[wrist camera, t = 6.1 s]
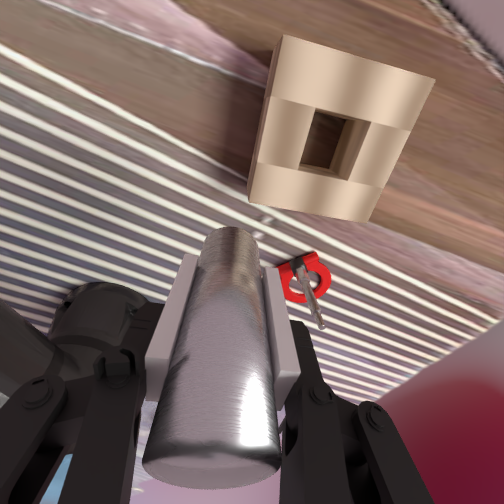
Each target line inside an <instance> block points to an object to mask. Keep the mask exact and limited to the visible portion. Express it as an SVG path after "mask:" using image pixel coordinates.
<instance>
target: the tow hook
mask: <svg viewBox="0 0 504 504" xmlns="http://www.w3.org/2000/svg"><path fill="white" fill-rule="evenodd" d="M318 260H319V257H318V255H317V253H316V252H313V253H311V254H308V255H306V256H303V257H299V258H296V259H294V260H291V261H289V262H288V263H285V264H283V265H280V266H277V267H276V268H278V271H279V275H280V276H281V277H280V280H281V284H282V289H283V293H284V297H285V298H286V299H287V300H290V301H292V302H297V303H305V302H307V303H308V306H309V308H310V311H311V314H312V316H314V317H315V319H316V322H317V325H318V327H319V329H320V330H323V329H325V328H326V326H325V324H324V321H323V319H322V316H321V313H322V312H321V309H320V307H319V305H318V302H317V300H316V299H317V298H319V297H320V296H322V295H323V294H324V293H325V292H326V291H327V290H328V288H329V287H330V284H331V275H330V272H329V270H328V269H327V267H326V266H325V265H323V264H322V263H320V262H319V261H318ZM308 270H309V271H315V272H317V273H318V274H319V275H320V276H321V281H320V284H319V286H318V287H317V288H316V289H315V290H312V288H311V286H310V279H309V276H308V274H307V273H308ZM293 274H294V275H293ZM293 276H294V277H296V278H297V281H298V284H299V285H300V286H301V287H302V290H303V292H304V294H298V293H295V292H293V291H291V290H290V288H289V282H290V280H291V278H292V277H293Z"/></svg>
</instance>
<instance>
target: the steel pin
mask: <svg viewBox="0 0 504 504" xmlns="http://www.w3.org/2000/svg"><path fill="white" fill-rule="evenodd" d="M142 465H143V468H144V470H145V471H146V472H147V473H148V474H149V475H151V476H152V477H154V478H156V479H158V480H160V481H162V482H165V483H168V484H171V485H175V486H180V487H186V488H193V489H228V488H236V487H241V486H246V485H250V484H253V483H257V482H259V481H262V480H264V479H266V478H268V477H270V476H271V475H273V474H274V473H276V472H277V471H278V469H279V468H280V466H281V465H282V455H281V446H280V437H279V428H278V419H277V411H276V402H275V393H274V384H273V375H272V366H271V357H270V348H269V340H268V331H267V322H266V313H265V304H264V295H263V286H262V278H261V269H260V260H259V251H258V245H257V243H256V241H255V239H254V238H253V236H252V235H251V234H250V233H248V232H247V231H245V230H243V229H240V228H237V227H223V228H219V229H217V230H215V231H213V232H212V233H210V234H209V235H208V236H207V238H206V239H205V241H204V244H203V247H202V250H201V254H200V257H199V261H198V265H197V270H196V273H195V277H194V280H193V284H192V288H191V291H190V295H189V298H188V302H187V305H186V309H185V313H184V316H183V320H182V323H181V327H180V330H179V334H178V338H177V341H176V345H175V348H174V352H173V355H172V359H171V362H170V366H169V370H168V373H167V375H166V378H165V381H164V384H163V388H162V391H161V395H160V398H159V402H158V405H157V409H156V412H155V416H154V419H153V423H152V426H151V430H150V434H149V437H148V441H147V444H146V448H145V451H144V455H143V458H142Z"/></svg>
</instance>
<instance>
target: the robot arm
mask: <svg viewBox="0 0 504 504" xmlns="http://www.w3.org/2000/svg"><path fill="white" fill-rule="evenodd" d="M198 257H199V256H198V255H192V254H185V255H184V258H183V260H182V263H181V265H180V268H179V270H178V273H177V276H176V278H175V281H174V283H173V286H172V288H171V291H170V293H169V296H168V299H167V301H166V304H160V303H152V302H149V301H148V300H147V299H146V298H145V297H143V296H142V295H141V294H139V293H137V292H136V291H134V290H132V289H129V288H127V287H124V286H121V285H117V284H112V283H90V284H85V285H82V286H80V287H77V288H76V289H74V290H73V291H71V292H70V293H69V294H68V295H67V296H66V297H65V299H64V300H63V301H62V302H61V303H60V304H59V306H58V308H57V310H56V312H55V315H54V318H53V321H52V324H51V326H50V329H49V332H48V335H47V337H46V336H45V335H44V334H42V333H41V332H40V331H39V330H38V329H36V328H35V327H34V326H33V325H32V324H30V323H29V322H28V321H27V320H26V319H24V318H23V317H22V316H21V315H20V314H18V313H17V312H16V311H15V310H14V309H13V308H11V307H10V306H9V305H8V304H7V303H5V302H4V301H3V300H2V299H1V298H0V504H129V502H130V495H131V488H132V480H133V473H134V465H135V458H136V450H137V443H138V436H139V428H140V421H141V407H142V404H143V401H144V398H145V396H146V401H156V402H159V398H160V395H161V391H162V388H163V384H164V381H165V378H166V375H167V373H168V370H169V366H170V362H171V359H172V355H173V352H174V348H175V345H176V341H177V338H178V334H179V330H180V327H181V323H182V320H183V316H184V313H185V309H186V305H187V302H188V298H189V295H190V291H191V288H192V284H193V280H194V277H195V273H196V270H197V265H198ZM262 286H263V295H264V304H265V313H266V322H267V331H268V340H269V348H270V357H271V366H272V375H273V384H274V393H275V402H276V411H281V409H282V407H283V405H285V413H286V416H285V418H284V419H283V421H282V423H281V425H280V427H279V434H281V432H282V453H281V455H282V465H281V478H280V500H279V504H434V501H433V499H432V498H431V496H430V494H429V492H428V490H427V488H426V486H425V484H424V482H423V480H422V478H421V476H420V474H419V472H418V470H417V468H416V466H415V464H414V462H413V460H412V458H411V456H410V454H409V452H408V450H407V448H406V446H405V445H404V443H403V441H402V439H401V437H400V435H399V433H398V431H397V429H396V427H395V425H394V423H393V421H392V419H391V418H390V416H389V415H388V413H387V412H386V411H385V410H384V409H383V408H382V407H381V406H379V405H378V404H376V403H374V402H371V401H363V402H361V403H360V405H359V406H358V405H356V404H353V403H351V402H349V401H346V400H344V399H342V398H340V397H338V396H336V395H335V394H334V392H333V391H332V389H331V388H330V386H328V385H327V384H326V383H325V382H324V380H323V378H322V374H321V371H320V368H319V364H318V361H317V357H316V354H315V351H314V349H313V344H312V341H311V337H310V334H309V330H308V329H307V327H306V326H305V325H304V323H303V322H302V321H295V320H289V316H288V312H287V307H286V303H285V298H284V293H283V289H282V284H281V280H280V275H279V271H278V268H273V267H267V266H266V267H265V270H264V274H263V277H262ZM282 430H283V431H282Z"/></svg>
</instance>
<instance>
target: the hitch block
mask: <svg viewBox="0 0 504 504" xmlns="http://www.w3.org/2000/svg"><path fill="white" fill-rule="evenodd" d="M435 80H436V79H433V78H429V77H426V76H423V75H419V74H416V73H413V72H409V71H406V70H402V69H399V68H396V67H392V66H389V65H386V64H382V63H379V62H376V61H372V60H369V59H366V58H362V57H359V56H356V55H352V54H349V53H346V52H342V51H339V50H335V49H332V48H329V47H325V46H322V45H319V44H315V43H312V42H309V41H305V40H302V39H299V38H295V37H292V36H289V35H285V34H283V36H282V37H281V39H280V41H279V42H278V44H277V45H276V47H275V48H274V50H273V54H272V59H271V64H270V70H269V75H268V80H267V85H266V90H265V95H264V100H263V105H262V110H261V116H260V121H259V126H258V131H257V136H256V141H255V146H254V151H253V156H252V161H251V167H250V172H249V177H248V182H247V194H248V200H249V202H250V203H255V204H261V205H266V206H272V207H277V208H283V209H288V210H294V211H299V212H305V213H310V214H316V215H321V216H327V217H332V218H338V219H344V220H349V221H355V222H360V223H366V224H367V222H368V220H369V218H370V216H371V213H372V211H373V209H374V207H375V205H376V203H377V201H378V199H379V197H380V195H381V193H382V191H383V188H384V186H385V184H386V182H387V180H388V178H389V176H390V174H391V172H392V170H393V168H394V166H395V163H396V161H397V159H398V157H399V155H400V153H401V151H402V149H403V147H404V145H405V143H406V141H407V139H408V136H409V134H410V132H411V130H412V128H413V126H414V124H415V122H416V120H417V118H418V116H419V114H420V111H421V109H422V107H423V105H424V103H425V101H426V99H427V97H428V95H429V93H430V91H431V89H432V86H433V84H434V82H435ZM314 112H318V113H322V114H326V115H330V116H334V117H338V118H342V119H346V122H345V124H344V127H343V130H342V133H341V136H340V139H339V141H338V144H337V147H336V150H335V153H334V156H333V158H332V161H331V164H330V167H329V169H327V168H322V167H317V166H313V165H308V164H303V163H300V160H301V156H302V153H303V150H304V146H305V143H306V139H307V136H308V132H309V129H310V126H311V122H312V119H313V115H314Z"/></svg>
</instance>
